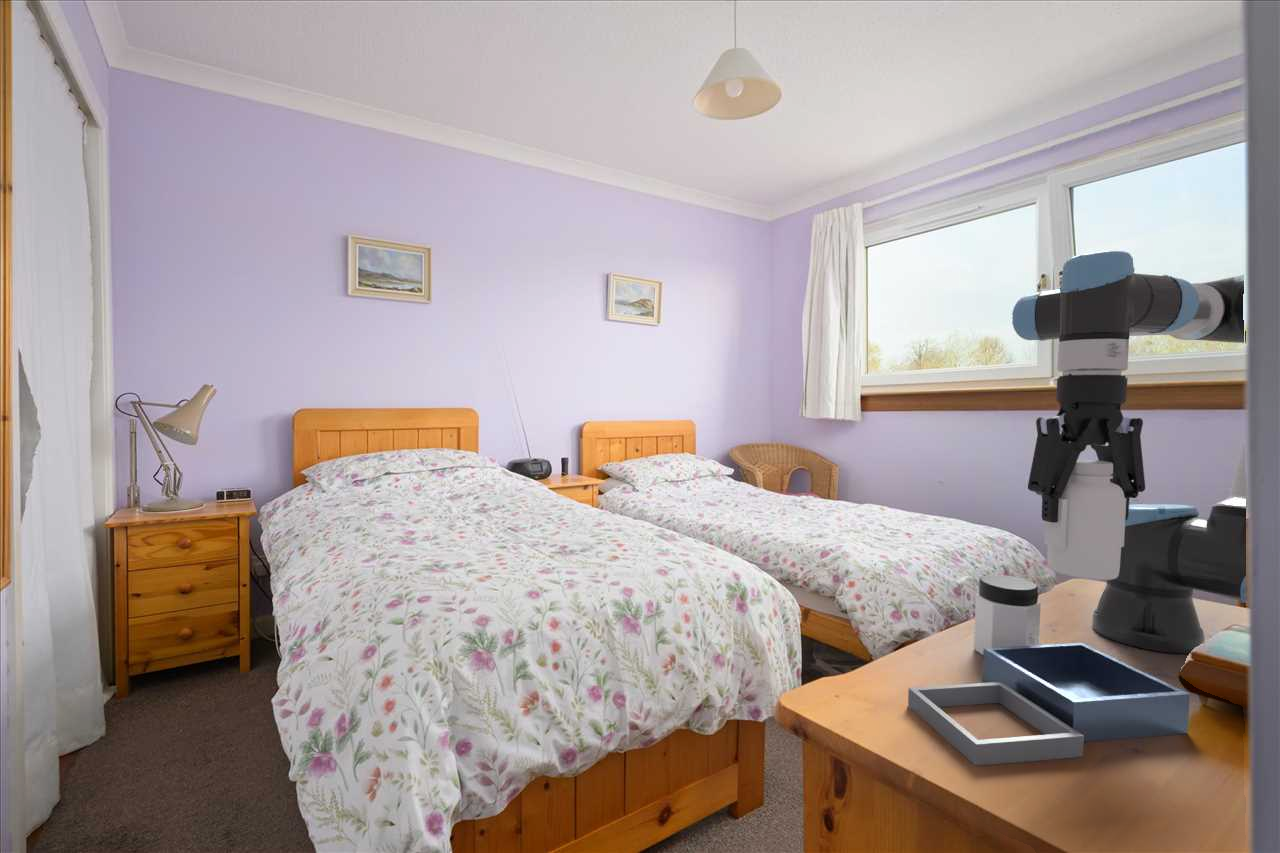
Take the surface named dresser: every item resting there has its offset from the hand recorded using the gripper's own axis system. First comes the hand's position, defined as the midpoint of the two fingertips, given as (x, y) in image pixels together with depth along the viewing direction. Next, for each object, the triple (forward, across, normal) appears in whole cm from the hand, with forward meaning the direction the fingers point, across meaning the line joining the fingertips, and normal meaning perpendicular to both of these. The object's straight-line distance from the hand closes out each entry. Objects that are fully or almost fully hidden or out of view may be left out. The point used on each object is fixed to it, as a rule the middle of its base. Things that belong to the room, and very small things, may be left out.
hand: (1083, 545), depth 83 cm
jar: (+22, +2, +16) cm, 27 cm away
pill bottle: (+4, 0, 0) cm, 4 cm away
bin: (+22, 0, 0) cm, 22 cm away
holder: (+22, -16, -4) cm, 27 cm away
